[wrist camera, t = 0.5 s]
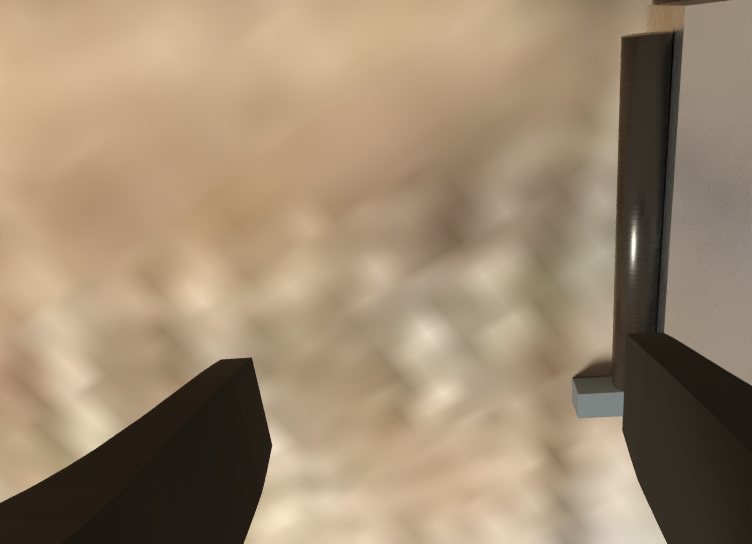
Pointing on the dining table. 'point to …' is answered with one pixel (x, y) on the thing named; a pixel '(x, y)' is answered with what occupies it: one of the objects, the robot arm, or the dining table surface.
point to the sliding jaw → (686, 183)
